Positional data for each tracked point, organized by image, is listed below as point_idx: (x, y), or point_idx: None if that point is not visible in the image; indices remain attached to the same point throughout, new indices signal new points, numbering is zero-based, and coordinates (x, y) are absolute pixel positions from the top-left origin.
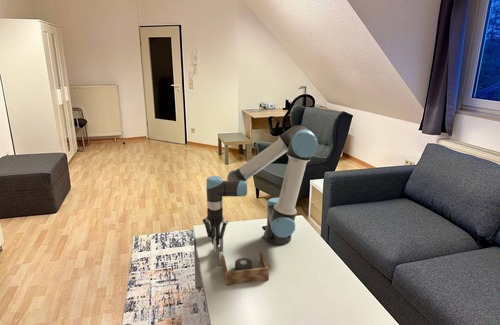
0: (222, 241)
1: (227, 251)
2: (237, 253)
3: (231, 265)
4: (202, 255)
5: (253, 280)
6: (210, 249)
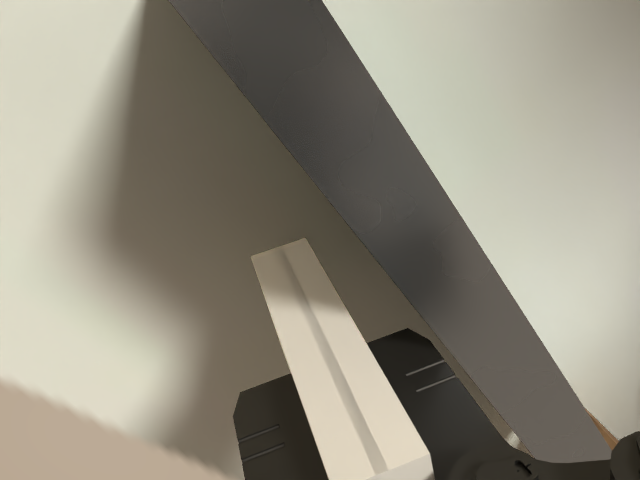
0: (481, 264)
1: (416, 62)
2: (616, 7)
3: (631, 317)
4: (114, 421)
5: None
6: (62, 213)
